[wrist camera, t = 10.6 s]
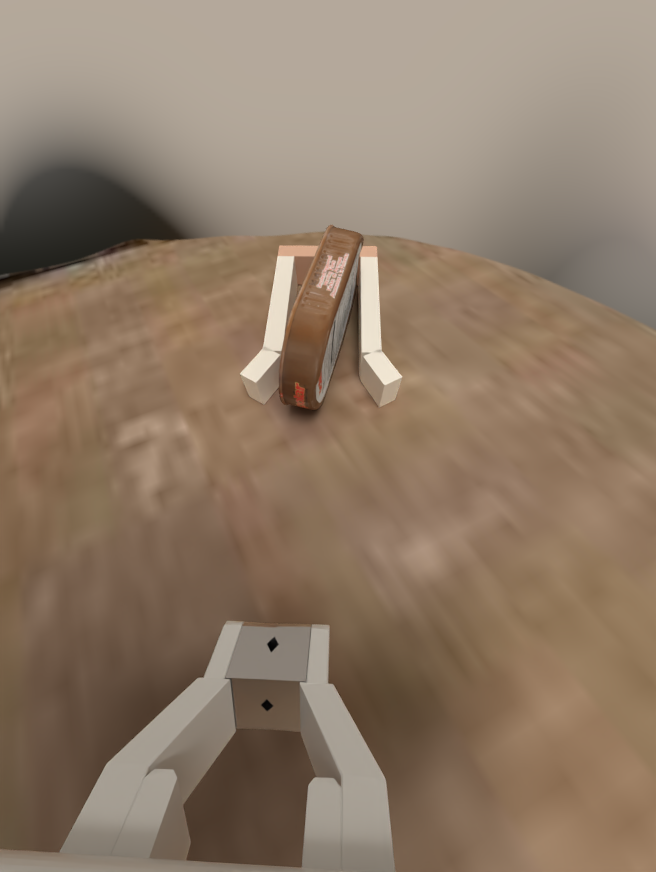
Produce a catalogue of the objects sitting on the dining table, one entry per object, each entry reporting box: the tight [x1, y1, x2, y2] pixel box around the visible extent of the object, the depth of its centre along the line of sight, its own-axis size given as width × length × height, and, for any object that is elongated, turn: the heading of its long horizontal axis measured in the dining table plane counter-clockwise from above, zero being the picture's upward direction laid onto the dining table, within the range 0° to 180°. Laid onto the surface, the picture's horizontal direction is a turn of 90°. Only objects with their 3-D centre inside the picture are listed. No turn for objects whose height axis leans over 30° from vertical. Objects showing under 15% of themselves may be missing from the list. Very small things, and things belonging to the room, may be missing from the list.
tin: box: [279, 225, 363, 410], centre depth 25 cm, size 15×3×8 cm, turn 165°
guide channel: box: [240, 246, 402, 407], centre depth 28 cm, size 12×16×3 cm
